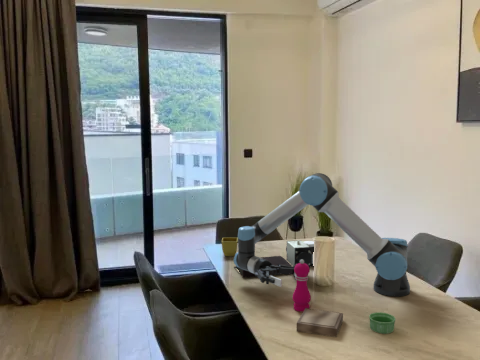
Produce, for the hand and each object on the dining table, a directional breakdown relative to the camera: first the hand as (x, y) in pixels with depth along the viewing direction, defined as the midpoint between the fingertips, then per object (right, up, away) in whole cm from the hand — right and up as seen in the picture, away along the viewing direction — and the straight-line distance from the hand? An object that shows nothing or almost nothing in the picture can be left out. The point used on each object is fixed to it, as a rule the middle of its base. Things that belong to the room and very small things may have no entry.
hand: (294, 279), depth 185 cm
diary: (-10, -6, +47) cm, 49 cm away
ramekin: (+29, -13, -20) cm, 38 cm away
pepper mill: (+3, -11, -2) cm, 12 cm away
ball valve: (+7, -7, +36) cm, 38 cm away
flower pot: (-27, -2, +74) cm, 78 cm away
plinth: (+7, -13, -17) cm, 23 cm away
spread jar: (+16, -4, +55) cm, 58 cm away
